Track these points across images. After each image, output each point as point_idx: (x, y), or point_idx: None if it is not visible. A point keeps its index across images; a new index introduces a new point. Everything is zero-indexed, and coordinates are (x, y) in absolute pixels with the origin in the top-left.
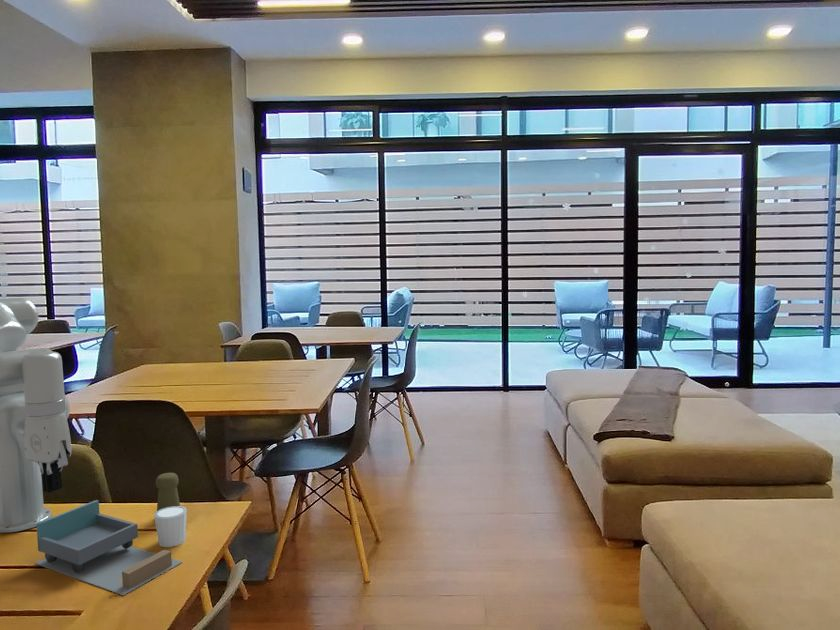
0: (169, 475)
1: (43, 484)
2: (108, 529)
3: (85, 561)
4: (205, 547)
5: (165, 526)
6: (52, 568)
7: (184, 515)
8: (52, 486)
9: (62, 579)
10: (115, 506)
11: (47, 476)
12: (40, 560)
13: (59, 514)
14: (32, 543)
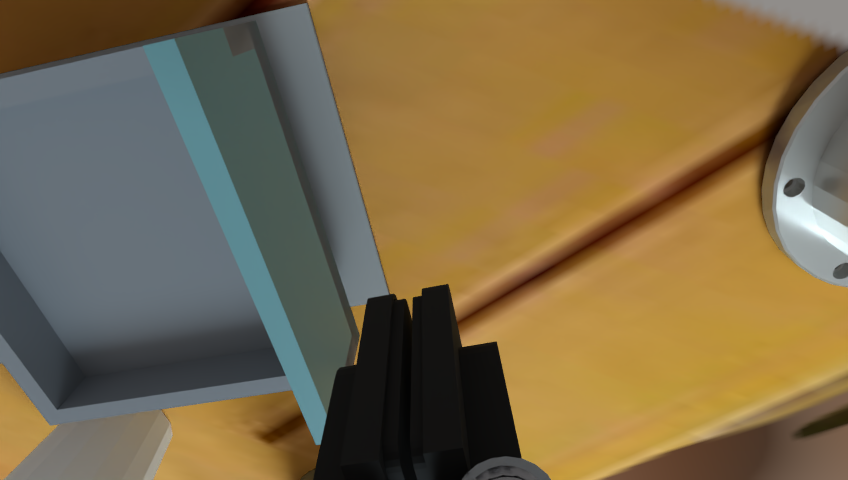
0: None
1: (440, 334)
2: (209, 338)
3: None
4: (4, 457)
5: (15, 469)
6: (169, 39)
7: None
8: (347, 369)
9: (24, 29)
10: (625, 446)
11: (348, 453)
12: (315, 34)
13: (249, 227)
14: (578, 89)
